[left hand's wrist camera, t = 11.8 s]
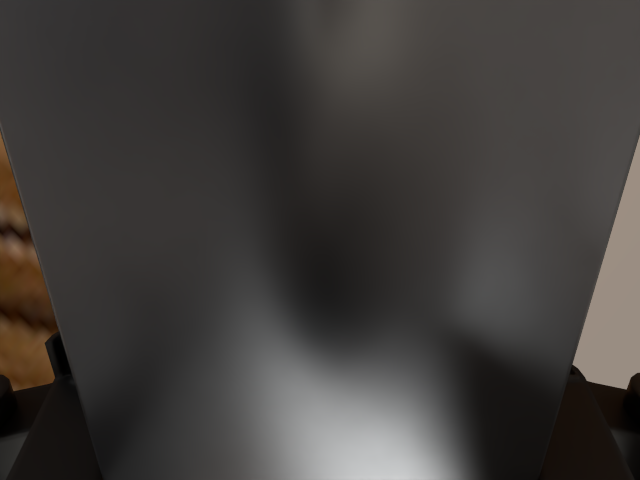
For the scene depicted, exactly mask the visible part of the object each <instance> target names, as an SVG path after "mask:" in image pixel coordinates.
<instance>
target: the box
mask: <svg viewBox="0 0 640 480" xmlns="http://www.w3.org/2000/svg"><path fill="white" fill-rule="evenodd" d="M0 132H1V135H2V138H3V142H4V145H5V149H6V152H7V155H8V159H9V162H10V165H11V169H12V172H13V176H14V179H15V182H16V186H17V189H18V193H19V196H20V199H21V203H22V206H23V210H24V213H25V216H26V220H27V223H28V227H29V230H30V233H31V237H32V240H33V244H34V247H35V250H36V254H37V257H38V261H39V264H40V267H41V271H42V274H43V277H44V281H45V284H46V288H47V291H48V294H49V298H50V301H51V305H52V308H53V311H54V315H55V318H56V322H57V325H58V328H59V332H60V335H61V339H62V342H63V345H64V349H65V352H66V356H67V359H68V362H69V366H70V369H71V373H72V376H73V379H74V383H75V386H76V389H77V393H78V396H79V400H80V403H81V406H82V410H83V413H84V417H85V420H86V423H87V427H88V430H89V434H90V437H91V440H92V444H93V447H94V451H95V454H96V457H97V461H98V464H99V468H100V471H101V474H102V478H103V480H538V479H539V476H540V473H541V469H542V466H543V462H544V459H545V456H546V452H547V449H548V445H549V442H550V438H551V435H552V432H553V428H554V425H555V421H556V418H557V415H558V411H559V408H560V404H561V401H562V398H563V394H564V391H565V387H566V384H567V381H568V377H569V374H570V370H571V367H572V364H573V360H574V357H575V353H576V350H577V346H578V343H579V340H580V336H581V333H582V329H583V326H584V323H585V319H586V316H587V312H588V309H589V306H590V302H591V299H592V295H593V292H594V289H595V285H596V282H597V278H598V275H599V272H600V268H601V265H602V261H603V258H604V254H605V251H606V248H607V244H608V241H609V238H610V234H611V231H612V227H613V224H614V220H615V217H616V214H617V210H618V207H619V203H620V200H621V197H622V193H623V190H624V186H625V183H626V180H627V176H628V173H629V169H630V166H631V163H632V159H633V156H634V152H635V149H636V146H637V142H638V139H639V135H640V0H0Z"/></svg>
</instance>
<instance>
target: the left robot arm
mask: <svg viewBox="0 0 640 480" xmlns="http://www.w3.org/2000/svg"><path fill="white" fill-rule="evenodd" d="M45 346H46V349H47V352H48V355H49V359H50V362H51V365H52V368H53V372H54V375H55V379H54V381H53V383H50V384H47V385H42V386H37V387H32V388H28V389H23V390H18V391H13V389H12V386H11V383H10V380H9V379H8V378H7V377H5V376H4V375H0V480H103V478H102V474H101V471H100V468H99V464H98V461H97V457H96V454H95V451H94V447H93V444H92V440H91V437H90V434H89V430H88V427H87V423H86V420H85V417H84V413H83V410H82V406H81V403H80V400H79V396H78V393H77V389H76V386H75V383H74V379H73V376H72V373H71V369H70V366H69V362H68V359H67V356H66V352H65V349H64V345H63V342H62V339H61V335H60V332H59V331H58V332H57V333H55V334H53V335H52V336H51V337H50V338H49V339H48V340H47V341H46V342H45ZM538 480H640V373H637V374H635V375H634V376H633V377H631V379H630V382H629V385H628V388H627V390H625V389H621V388H616V387H611V386H606V385H602V384H597V383H592V382H588V381H586V379H585V377H584V376H583V374H582V373H581V372H580V371H579V369H578V368H576V367H575V366H574V365H572V367H571V370H570V374H569V377H568V381H567V384H566V387H565V391H564V394H563V398H562V401H561V404H560V408H559V411H558V415H557V418H556V421H555V425H554V428H553V432H552V435H551V438H550V442H549V445H548V449H547V452H546V456H545V459H544V462H543V466H542V469H541V473H540V476H539V479H538Z"/></svg>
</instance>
